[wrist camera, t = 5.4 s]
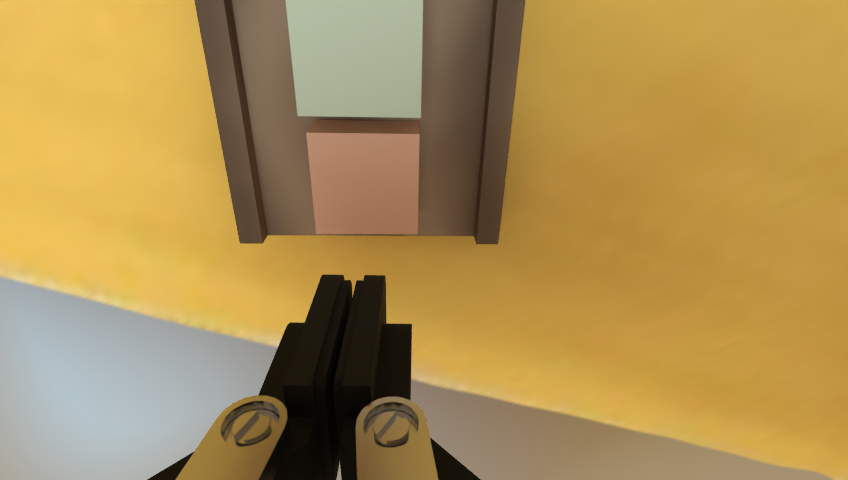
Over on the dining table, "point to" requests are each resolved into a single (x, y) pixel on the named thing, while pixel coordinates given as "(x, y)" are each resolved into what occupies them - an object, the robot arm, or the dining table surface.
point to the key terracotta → (364, 176)
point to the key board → (438, 126)
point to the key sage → (356, 57)
